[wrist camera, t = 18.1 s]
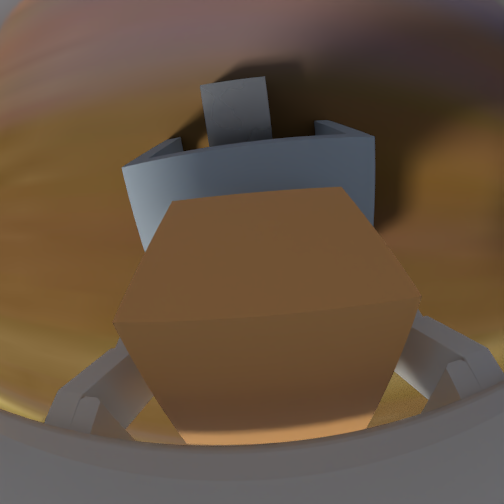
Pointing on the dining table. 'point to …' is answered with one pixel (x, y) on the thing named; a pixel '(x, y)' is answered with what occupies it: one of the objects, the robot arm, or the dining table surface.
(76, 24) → the dining table surface
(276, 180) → the pale blue storage bin
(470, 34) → the dining table surface
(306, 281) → the block
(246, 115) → the rod
